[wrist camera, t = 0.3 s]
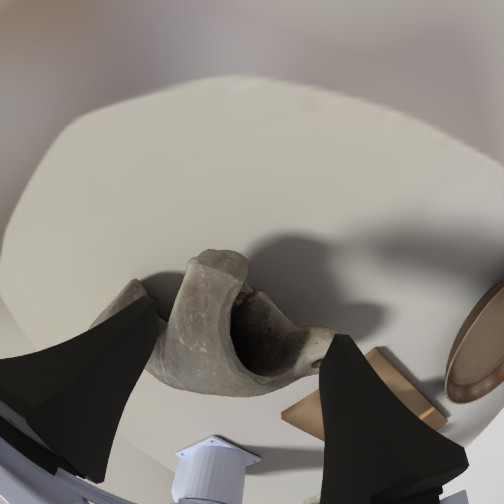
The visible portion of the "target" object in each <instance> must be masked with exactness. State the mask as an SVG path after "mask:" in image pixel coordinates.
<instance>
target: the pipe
mask: <svg viewBox="0 0 504 504" xmlns="http://www.w3.org/2000/svg"><path fill="white" fill-rule="evenodd" d="M248 273H249V263H248V261H247V259H246V258H245V257H244V256H242V255H241V254H240V253H237V252H235V251H231V250H215V249H208V250H206V251H203V252H202V253H201V254H199V255H198V256H197V257H194V258H192V259H190V260H189V261H188V263H187V268H186V273H185V276H184V279H183V282H182V285H181V287H180V290H179V292H178V294H177V297H176V300H175V303H174V306H173V309H172V312H171V315H170V318H169V322H168V323H167V322H166V321H164V320H163V319H161V318H160V317H159V316H158V315H157V327H158V338H157V341H156V343H155V346H154V349H153V351H152V354H151V356H150V358H149V360H148V362H147V364H146V366H145V368H144V369H145V370H147V371H148V372H149V373H150V374H152V375H153V376H154V377H155V378H157V379H158V380H159V381H161V382H162V383H164V384H166V385H168V386H170V387H173V388H175V389H180V390H186V391H190V392H195V393H200V394H210V395H220V396H230V397H252V396H259V395H264V394H267V393H270V392H273V391H275V390H278V389H281V388H283V387H285V386H287V385H289V384H291V383H293V382H295V381H296V380H298V379H300V378H302V377H306V376H310V375H315V374H319V366H320V364H321V362H322V360H323V358H324V356H325V354H326V352H327V350H328V348H329V346H330V344H331V342H332V339H333V337H334V335H335V334H340V333H339V332H337V331H335V330H333V329H330V328H326V327H314V326H311V327H298V326H296V325H294V324H292V323H291V322H290V320H288V319H287V318H286V317H285V316H284V314H283V313H282V312H281V311H280V310H279V309H278V308H277V306H276V305H275V304H274V303H273V302H272V301H271V299H270V298H269V297H268V296H267V295H266V294H265V293H264V292H262V291H256V292H254V291H253V290H252V289H251V288H250V287H249V286H248V284H247V282H246V278H247V275H248ZM142 296H145V297H148V294H147V291H146V290H145V289H144V287H143V286H142V285H141V283H140V282H139V281H138V280H137V279H133V280H131V281H130V282H129V283H128V284H127V285H126V286H125V287H124V289H123V290H122V291H121V292H120V293H119V295H118V296H117V297H116V298H115V299H114V300H113V301H112V302H111V303H110V304H109V305H108V306H107V307H106V308H105V309H104V311H103V312H102V313H101V314H100V315H99V316H98V318H97V319H96V320H95V321H94V322H93V323H92V324H91V326H90V328H89V330H90V329H91V328H93V327H95V326H96V325H98V324H100V323H102V322H103V321H105V320H107V319H108V318H110V317H111V316H113V315H114V314H116V313H118V312H119V311H121V310H122V309H124V308H125V307H127V306H128V305H130V304H131V303H133V302H134V301H136V300H137V299H139V298H140V297H142Z"/></svg>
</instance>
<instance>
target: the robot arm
mask: <svg viewBox="0 0 504 504" xmlns="http://www.w3.org/2000/svg"><path fill="white" fill-rule="evenodd" d="M157 338H158V327H157V305H156V299H152V298H148V297H145V296H142V297H140V298H139V299H137V300H136V301H134V302H133V303H131V304H130V305H128V306H127V307H125V308H124V309H122V310H121V311H119V312H118V313H116V314H114V315H113V316H111V317H110V318H108V319H107V320H105V321H103V322H102V323H100V324H98V325H96V326H95V327H93V328H91V329H90V330H88V331H86V332H84V333H82V334H80V335H78V336H76V337H74V338H72V339H70V340H68V341H65V342H63V343H61V344H58V345H55V346H52V347H50V348H47V349H44V350H41V351H38V352H34V353H31V354H27V355H23V356H18V357H13V358H6V359H0V497H2V498H3V499H4V500H5V501H6V502H7V503H8V504H89V502H88V501H90V502H92V503H95V504H136V503H133V502H131V501H128V500H125V499H123V498H120V497H118V496H115V495H113V494H111V493H108V492H106V491H104V490H102V489H99V488H97V487H95V486H93V485H91V484H89V483H87V482H85V481H83V480H81V479H79V478H77V477H76V475H77V476H79V477H81V478H83V479H88V480H89V481H92V482H94V483H96V484H98V483H102V482H103V481H104V479H105V473H106V468H107V464H108V458H109V455H110V451H111V447H112V444H113V440H114V437H115V433H116V431H117V427H118V424H119V421H120V418H121V416H122V413H123V410H124V407H125V405H126V403H127V400H128V398H129V396H130V394H131V392H132V390H133V388H134V387H135V385H136V383H137V381H138V379H139V377H140V375H141V373H142V372H143V370H144V368H145V366H146V364H147V362H148V360H149V358H150V356H151V354H152V351H153V349H154V346H155V343H156V341H157ZM319 393H320V401H321V410H322V418H323V427H324V440H325V447H324V469H323V480H322V488H321V496H320V502H319V504H469V503H468V498H467V494H466V490H463V491H460V492H458V493H456V494H453V495H451V496H448V497H446V498H444V499H442V500H439V495H440V494H442V493H443V489H442V486H443V485H444V484H446V483H448V482H449V481H451V480H453V479H454V478H456V477H457V476H459V475H460V474H461V473H463V472H464V471H465V470H466V469H467V468H468V466H469V463H468V459H467V456H466V453H465V450H464V447H462V446H460V445H458V444H457V443H455V442H453V441H451V440H449V439H448V438H446V437H444V436H443V435H441V434H440V433H438V432H437V431H435V430H434V429H432V428H431V427H430V426H428V425H427V424H426V423H424V422H423V421H422V420H421V419H420V418H418V417H417V416H416V415H415V414H414V413H413V412H412V411H410V410H409V409H408V408H407V407H406V406H405V405H404V404H403V403H402V402H401V401H400V400H399V399H398V398H397V397H396V395H395V394H394V393H393V392H392V391H391V390H390V389H389V387H388V386H387V385H386V384H385V383H384V381H383V380H382V379H381V378H380V376H379V375H378V374H377V373H376V371H375V370H374V369H373V367H372V366H371V365H370V363H369V362H368V361H367V359H366V358H365V356H364V355H363V354H362V352H361V351H360V349H359V348H358V347H357V345H356V344H355V342H354V341H353V340H352V338H351V337H350V336H349V335H343V334H335V335H334V337H333V339H332V342H331V344H330V346H329V348H328V350H327V352H326V354H325V356H324V358H323V360H322V362H321V364H320V366H319ZM175 455H176V456H177V457H179V458H180V462H179V465H178V468H177V472H176V475H175V478H174V482H173V485H172V496H173V499H174V501H175V502H176V503H175V502H172V503H170V504H242V499H243V490H244V481H245V472H246V467H247V466H250V465H252V464H255V463H257V462H260V461H261V458H260V457H258V456H255V455H253V454H251V453H249V452H247V451H245V450H243V449H240V448H238V447H236V446H234V445H232V444H230V443H228V442H226V441H224V440H223V439H221V438H219V437H217V436H212V437H210V438H208V439H206V440H204V441H202V442H199V443H197V444H195V445H193V446H191V447H188V448H186V449H184V450H181V451H179V452H177V453H176V454H175ZM87 500H88V501H87Z"/></svg>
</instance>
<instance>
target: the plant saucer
mask: <svg viewBox="0 0 504 504" xmlns="http://www.w3.org/2000/svg"><path fill="white" fill-rule="evenodd" d="M503 381H504V281H503V282H501V283H500V284H498V285H497V286H495V287H494V288H493V289H492V290H491V291H489V292H488V293H487V294H486V295H485V296H484V297H483V298H482V299H481V300H480V302H479V303H478V304H477V305H476V306H475V308H474V309H473V310H472V312H471V313H470V315H469V316H468V317H467V319H466V321H465V322H464V324H463V325H462V327H461V329H460V331H459V333H458V335H457V337H456V339H455V341H454V343H453V346H452V349H451V351H450V355H449V359H448V363H447V368H446V375H445V394H446V396H447V398H448V400H449V401H450V402H452V403H454V404H467V403H471V402H473V401H476V400H478V399H480V398H482V397H483V396H485V395H487V394H488V393H490V392H491V391H493V390H494V389H495V388H496V387H498V386H499V385H500V384H501V383H502V382H503Z"/></svg>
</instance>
